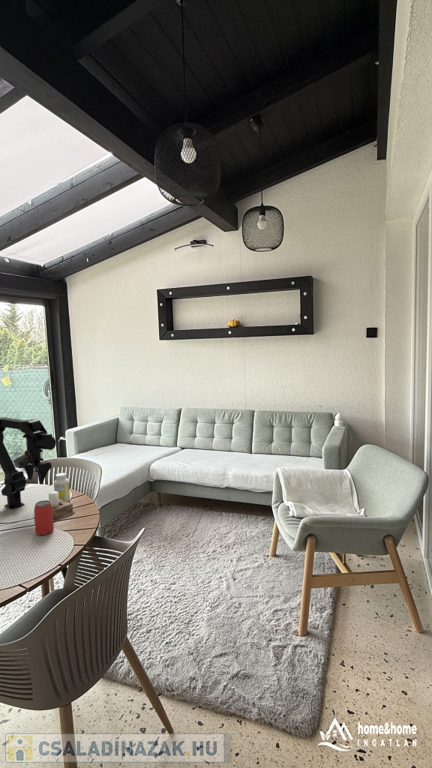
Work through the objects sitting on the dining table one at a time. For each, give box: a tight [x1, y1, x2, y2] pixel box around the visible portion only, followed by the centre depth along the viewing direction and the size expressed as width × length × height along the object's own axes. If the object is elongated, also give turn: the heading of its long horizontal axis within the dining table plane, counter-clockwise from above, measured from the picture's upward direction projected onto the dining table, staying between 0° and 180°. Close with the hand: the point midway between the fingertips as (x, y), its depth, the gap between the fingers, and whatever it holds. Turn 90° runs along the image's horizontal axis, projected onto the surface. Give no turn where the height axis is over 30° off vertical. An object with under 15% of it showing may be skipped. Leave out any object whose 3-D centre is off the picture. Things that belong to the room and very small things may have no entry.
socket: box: [52, 499, 75, 522], centre depth 181 cm, size 12×12×4 cm
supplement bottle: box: [53, 472, 71, 502], centre depth 196 cm, size 7×7×13 cm
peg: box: [48, 490, 59, 508], centre depth 181 cm, size 4×4×9 cm
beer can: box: [33, 499, 54, 536], centre depth 163 cm, size 7×7×12 cm
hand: (35, 481), depth 185 cm, fingers open, 9 cm apart
